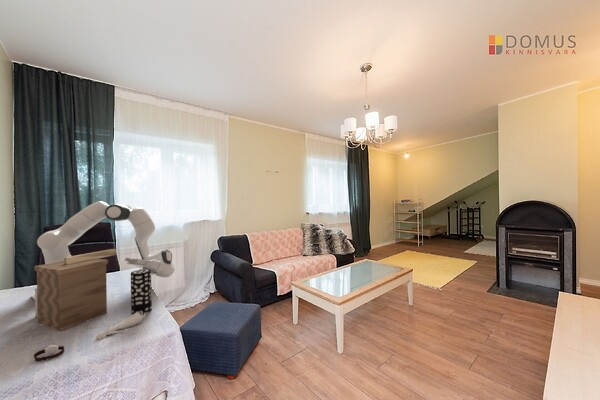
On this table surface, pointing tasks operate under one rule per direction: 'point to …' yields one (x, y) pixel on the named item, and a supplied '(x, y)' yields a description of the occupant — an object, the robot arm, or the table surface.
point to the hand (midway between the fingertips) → (131, 259)
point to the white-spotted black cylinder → (141, 291)
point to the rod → (89, 256)
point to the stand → (71, 293)
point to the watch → (49, 350)
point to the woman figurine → (122, 325)
